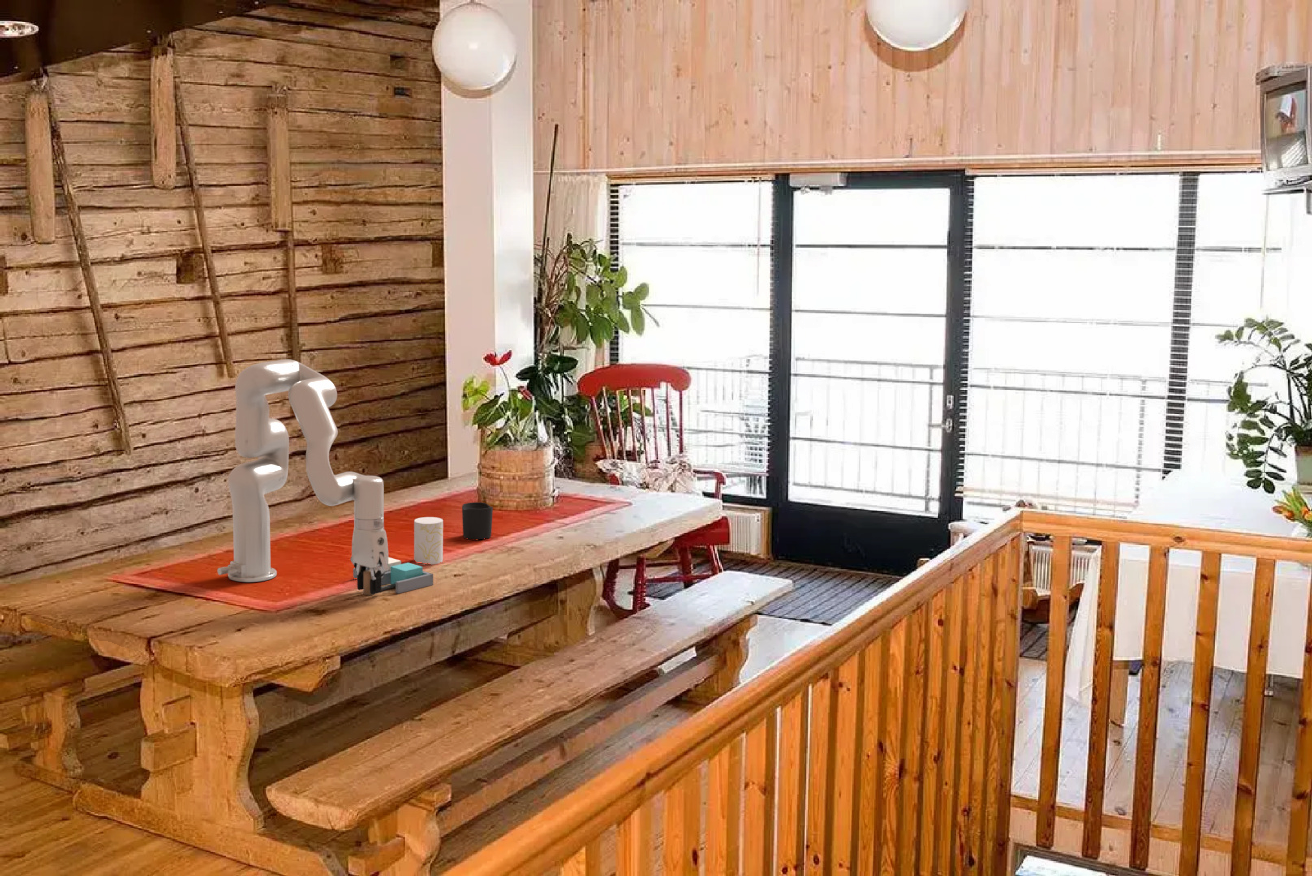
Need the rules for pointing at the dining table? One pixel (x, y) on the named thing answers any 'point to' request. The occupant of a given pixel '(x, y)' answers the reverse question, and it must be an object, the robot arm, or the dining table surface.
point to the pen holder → (477, 520)
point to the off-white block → (391, 563)
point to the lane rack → (406, 581)
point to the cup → (428, 540)
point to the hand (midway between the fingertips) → (369, 590)
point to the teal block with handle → (394, 576)
